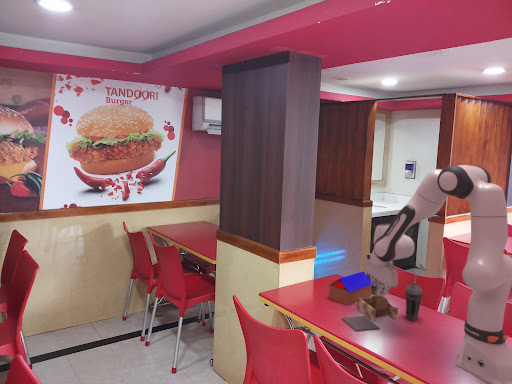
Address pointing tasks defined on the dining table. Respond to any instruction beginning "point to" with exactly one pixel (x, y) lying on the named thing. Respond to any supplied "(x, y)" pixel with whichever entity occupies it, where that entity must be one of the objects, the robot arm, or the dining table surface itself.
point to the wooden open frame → (370, 312)
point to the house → (350, 288)
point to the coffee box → (377, 287)
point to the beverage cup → (413, 300)
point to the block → (379, 305)
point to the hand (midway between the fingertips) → (379, 289)
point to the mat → (360, 323)
